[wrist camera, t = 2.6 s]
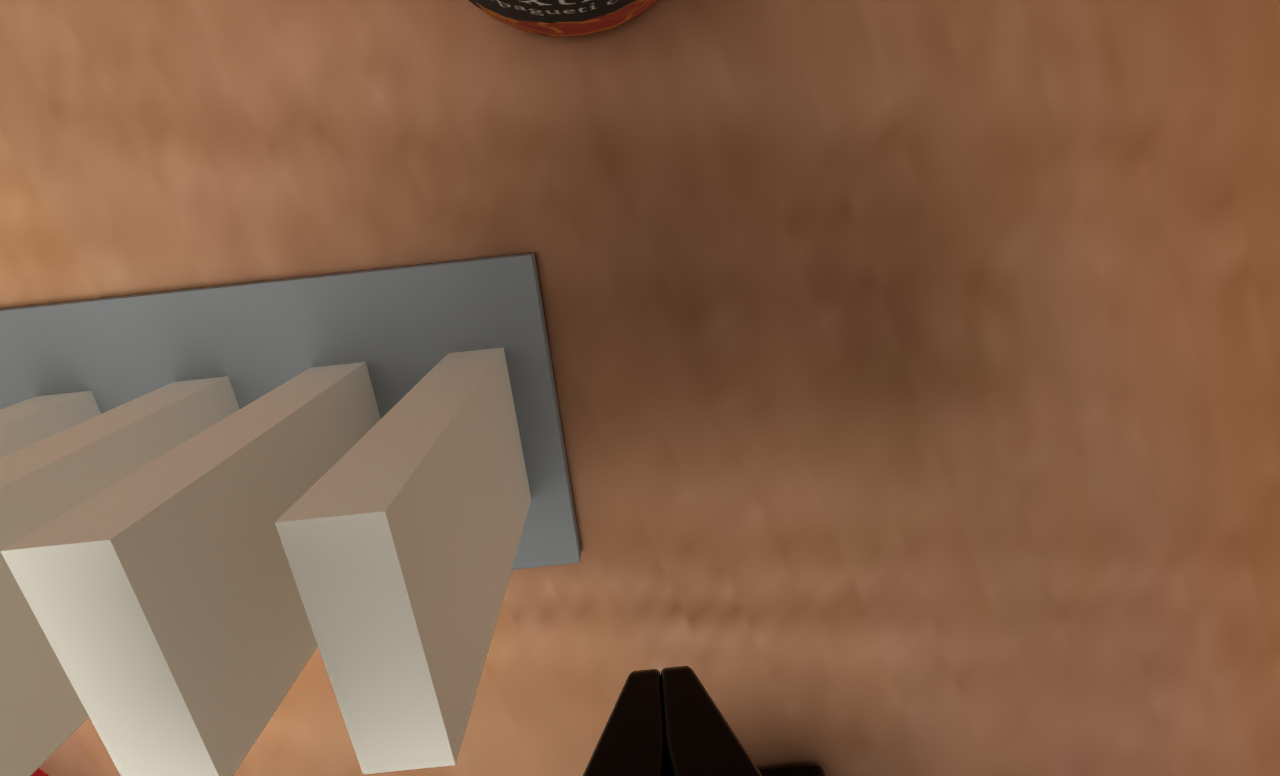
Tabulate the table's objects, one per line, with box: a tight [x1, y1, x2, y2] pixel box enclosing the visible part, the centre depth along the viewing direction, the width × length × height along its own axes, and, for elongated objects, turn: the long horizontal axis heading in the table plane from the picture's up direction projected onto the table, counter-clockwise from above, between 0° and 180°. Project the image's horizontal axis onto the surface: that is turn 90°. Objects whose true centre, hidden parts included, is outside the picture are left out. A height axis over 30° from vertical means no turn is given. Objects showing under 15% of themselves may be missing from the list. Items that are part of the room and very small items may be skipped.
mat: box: [0, 253, 581, 570], centre depth 18 cm, size 26×10×1 cm, turn 96°
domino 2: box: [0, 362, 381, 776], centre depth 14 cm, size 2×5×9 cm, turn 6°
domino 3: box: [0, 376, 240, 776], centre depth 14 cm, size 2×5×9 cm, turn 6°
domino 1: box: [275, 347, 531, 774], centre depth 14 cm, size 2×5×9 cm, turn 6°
